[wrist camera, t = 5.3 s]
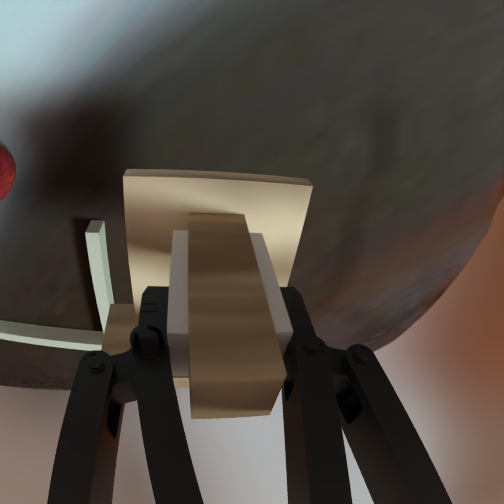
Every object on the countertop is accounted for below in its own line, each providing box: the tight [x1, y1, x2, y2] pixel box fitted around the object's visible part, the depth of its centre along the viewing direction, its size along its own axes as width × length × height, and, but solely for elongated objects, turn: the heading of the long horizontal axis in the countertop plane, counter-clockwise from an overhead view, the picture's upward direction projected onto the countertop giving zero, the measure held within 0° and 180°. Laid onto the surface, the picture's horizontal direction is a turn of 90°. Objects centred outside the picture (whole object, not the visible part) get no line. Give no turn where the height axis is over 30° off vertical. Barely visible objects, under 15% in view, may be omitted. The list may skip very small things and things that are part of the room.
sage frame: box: [0, 220, 114, 351], centre depth 34 cm, size 20×23×2 cm
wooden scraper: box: [101, 169, 313, 419], centre depth 16 cm, size 11×14×11 cm
